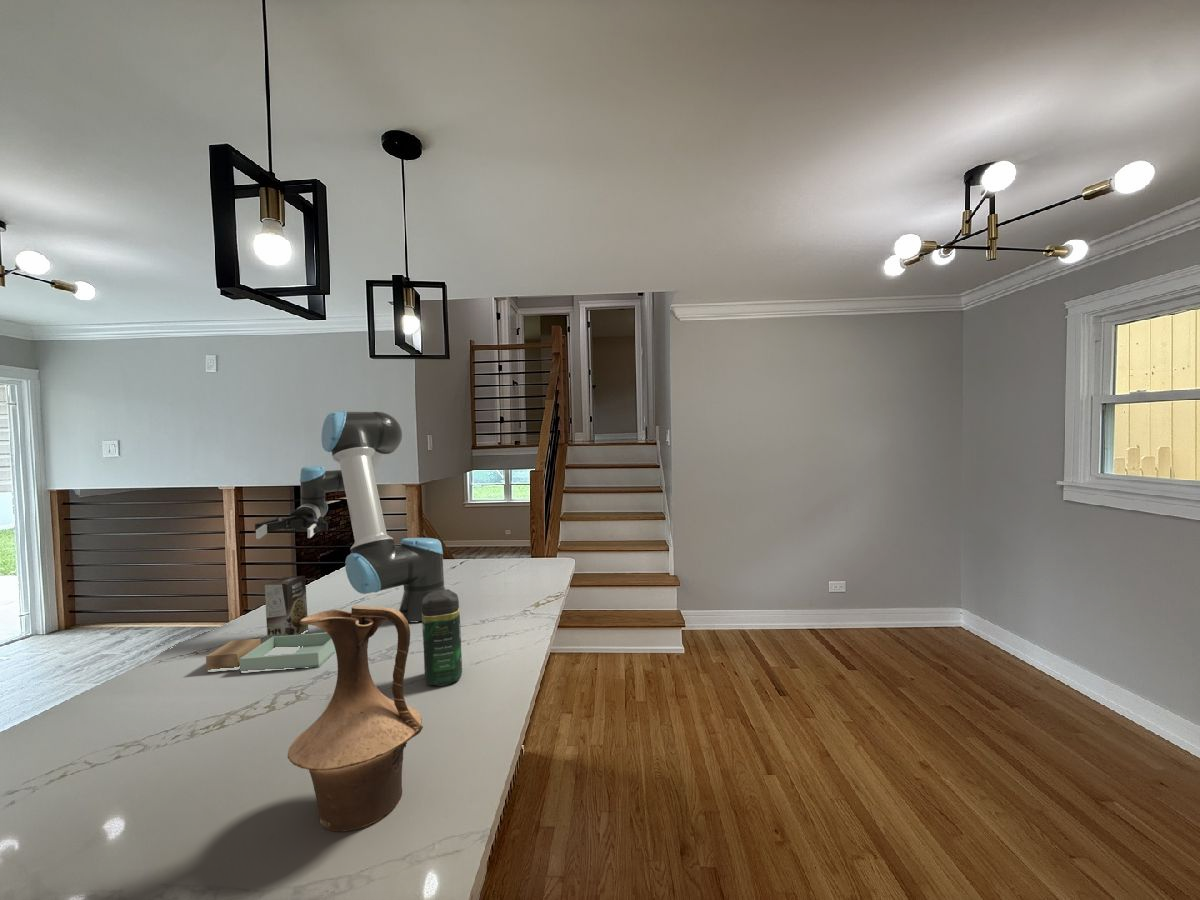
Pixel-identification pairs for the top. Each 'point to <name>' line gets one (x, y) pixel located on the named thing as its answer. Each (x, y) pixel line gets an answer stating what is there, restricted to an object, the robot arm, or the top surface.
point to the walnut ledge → (231, 653)
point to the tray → (310, 655)
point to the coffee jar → (441, 637)
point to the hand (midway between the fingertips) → (283, 534)
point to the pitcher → (358, 725)
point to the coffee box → (286, 606)
